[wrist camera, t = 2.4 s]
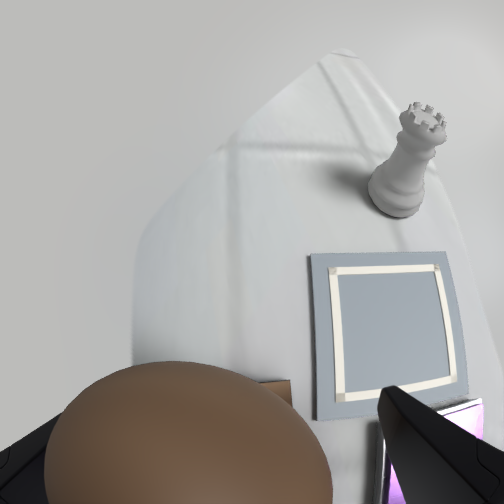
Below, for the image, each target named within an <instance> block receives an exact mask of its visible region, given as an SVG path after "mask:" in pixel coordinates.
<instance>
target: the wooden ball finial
mask: <svg viewBox="0 0 504 504" xmlns="http://www.w3.org/2000/svg"><path fill="white" fill-rule="evenodd" d="M44 481H45V489H46V494H47V498H48V502H49V504H332V498H333V486H332V478H331V472H330V468H329V465H328V462H327V459H326V456H325V454H324V452H323V450H322V448H321V446H320V443H319V441H318V439H317V438H316V436H315V435H314V433H313V432H312V430H311V429H310V427H309V426H308V424H307V423H306V422H305V421H304V420H303V418H302V417H301V416H300V415H299V414H298V413H297V412H296V411H295V409H293V408H292V396H291V385H290V380H283V381H272V382H260V383H257V382H255V381H253V380H252V379H250V378H247V377H245V376H242V375H240V374H237V373H235V372H233V371H229V370H226V369H222V368H219V367H215V366H211V365H206V364H200V363H194V362H181V361H166V362H153V363H147V364H142V365H136V366H131V367H128V368H125V369H122V370H119V371H116V372H114V373H112V374H110V375H108V376H106V377H104V378H102V379H100V380H98V381H96V382H95V383H93V384H92V385H90V386H89V387H87V388H86V389H84V390H83V391H82V392H81V393H80V394H79V395H78V396H77V397H76V398H75V399H74V400H73V401H72V402H71V403H70V404H69V405H68V406H67V407H66V409H65V410H64V411H63V413H62V414H61V415H60V417H59V419H58V421H57V423H56V424H55V426H54V428H53V431H52V433H51V435H50V438H49V441H48V444H47V448H46V454H45V463H44Z"/></svg>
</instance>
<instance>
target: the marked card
mask: <svg viewBox="0 0 504 504" xmlns="http://www.w3.org/2000/svg"><path fill="white" fill-rule="evenodd" d="M310 260H311V274H312V288H313V305H314V326H315V352H316V421H329V420H340V419H349V418H357V417H365V416H372V415H378V412H377V405H378V401H379V397H380V393H381V390H382V388H384V387H387V386H391V385H395V386H397V387H399V388H400V389H402V390H404V391H405V392H407V393H408V394H410V395H411V396H413V397H414V398H416V399H417V400H419V401H420V402H422V403H424V404H425V405H429V404H433V403H437V402H441V401H445V400H449V399H452V398H456V397H459V396H462V395H466V394H469V391H468V374H467V363H466V353H465V345H464V337H463V330H462V324H461V318H460V312H459V307H458V302H457V297H456V292H455V287H454V283H453V279H452V274H451V270H450V266H449V263H448V259H447V255H446V252H387V253H322V254H311V256H310Z"/></svg>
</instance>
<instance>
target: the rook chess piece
mask: <svg viewBox="0 0 504 504" xmlns="http://www.w3.org/2000/svg"><path fill="white" fill-rule="evenodd" d="M421 106H422V105H421V103H416V102H414V104H413V105H411V104H410V106H409V108H408V110H407V111H404V112H402V113H401V114H400V116H399V119H400V122H401V125H402V128H403V130H402V131H401V132H399V133H398V134H397V141H398V143H397V146H396V148H395V150H394V151H393V153H392V155H391V157H390V158H389V159H388V160H386V161H385V162H383V164H381V165H379V166H378V167H377V168H376V169H375V170H374V172H373V174H372V176H371V179H370V180H369V182H368V193H369V195H370V197H371V198H372V200H373V202H374V204H375V205H376V206H377V207H378V208H379V209H380V210H381V211H382V212H384V213H386V214H388V215H390V216H394V217H408V216H412V215H413V214H415V213H416V212H417V211H418V210H419V207H420V204H421V203H422V201H423V197H424V193H425V190H424V180H423V177H424V173H425V170H426V166H427V164H428V162H429V160H430V159H432V158H433V157H434V156H435V153H436V151H435V146H437V145H440V144H443V143H444V142H446V137H447V136H446V132H445V126H446V122H445V121H443V120H444V117H443V115H441V113H437V115H436V117H435V116H434V115H433V114H432V112H433V109H434V108H432V107H430V106H428V105H427V106H426V108H425V110H422V109H421Z"/></svg>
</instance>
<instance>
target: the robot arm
mask: <svg viewBox="0 0 504 504" xmlns="http://www.w3.org/2000/svg"><path fill="white" fill-rule="evenodd" d="M377 412H378V416H379V420H380V424H381V428H382V432H383V436H384V440H385V445H386V449H387V452H388V455H389V458H390V461H391V463H392V466H393V469H394V472H395V474H396V477H397V480H398V483H399V486H400V488H401V491H402V494H403V497H404V500H405V503H406V504H504V452H503V451H501V450H499V449H497V448H495V447H494V446H492V445H490V444H488V443H486V442H485V441H483V440H481V439H480V438H477V437H476V436H475V435H473V434H471V433H470V432H468V431H466V430H465V429H463V428H462V427H460V426H458V425H457V424H455V423H454V422H452V421H450V420H449V419H447V418H446V417H444V416H442V415H441V414H439V413H438V412H436V411H434V410H433V409H431V408H430V407H428V406H427V405H425V404H424V403H422V402H420V401H419V400H417V399H416V398H414V397H413V396H411V395H410V394H408V393H407V392H405V391H404V390H402V389H400V388H399V387H397V386H395V385H391V386H387V387H384V388H382V390H381V393H380V397H379V401H378V405H377ZM62 413H63V412H62ZM62 413H60V414H59V415H57V416H56V417H54V418H53V419H51V420H50V421H48V422H47V423H45V424H43V425H42V426H40V427H39V428H37V429H36V430H34V431H33V432H31V433H30V434H28V435H27V436H25V437H23V438H22V439H21V440H19V441H17V442H15V443H14V444H12V445H11V446H9V447H8V448H6V449H4V450H3V451H1V452H0V504H49V502H48V498H47V494H46V489H45V481H44V463H45V454H46V448H47V444H48V441H49V438H50V435H51V433H52V431H53V428H54V426H55V424H56V423H57V421H58V419H59V417H60V415H61V414H62Z"/></svg>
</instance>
